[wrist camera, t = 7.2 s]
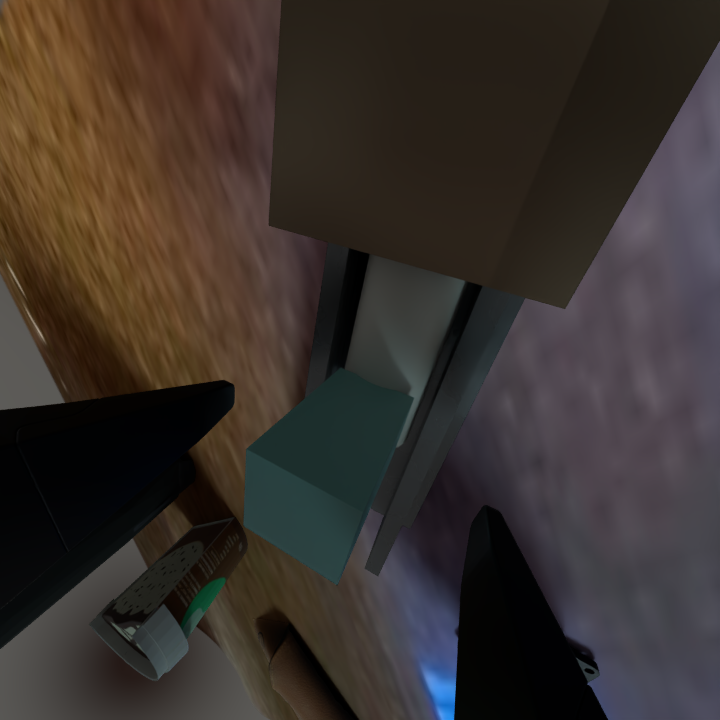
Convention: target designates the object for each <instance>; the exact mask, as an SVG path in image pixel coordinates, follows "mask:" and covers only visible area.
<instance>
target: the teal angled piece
mask: <svg viewBox="0 0 720 720" xmlns="http://www.w3.org/2000/svg"><path fill="white" fill-rule="evenodd" d="M468 284H469V282H468V281H464V280H460V279H457V278H453V277H450V276H446V275H443V274H439V273H436V272H432V271H429V270H425V269H421V268H418V267H414V266H411V265H407V264H404V263H400V262H397V261H393V260H389V259H386V258H382V257H379V256H375V255H372V254H370V255H369V259H368V264H367V268H366V273H365V278H364V282H363V287H362V291H361V296H360V300H359V305H358V310H357V314H356V319H355V323H354V328H353V332H352V337H351V341H350V346H349V351H348V355H347V360H346V364H345V369H343V368H340V369H339V370H337V371H336V372H335V373H334V374H333V375H332V376H330V377H329V378H328V379H327V380H326V381H325V382H324V383H322V384H321V385H320V386H319V387H318V388H317V389H315V390H314V391H313V392H312V393H311V394H310V395H308V396H307V397H306V398H305V399H304V400H303V401H301V402H300V403H299V404H298V405H297V406H296V407H295V408H293V409H292V410H291V411H290V412H289V413H288V414H286V415H285V416H284V417H283V418H282V419H281V420H279V421H278V422H277V423H276V424H275V425H274V426H272V427H271V428H270V429H269V430H268V431H267V432H266V433H264V434H263V435H262V436H261V437H260V438H259V439H257V440H256V441H255V442H254V443H253V444H252V445H250V446H249V447H248V448H247V449H246V473H245V500H244V526H245V527H246V528H248V529H249V530H251V531H253V532H254V533H256V534H257V535H259V536H260V537H262V538H264V539H265V540H267V541H268V542H270V543H271V544H273V545H275V546H276V547H278V548H279V549H281V550H282V551H284V552H286V553H287V554H289V555H290V556H292V557H293V558H295V559H297V560H298V561H300V562H301V563H303V564H305V565H306V566H308V567H309V568H311V569H312V570H314V571H316V572H317V573H319V574H320V575H322V576H323V577H325V578H327V579H328V580H330V581H331V582H333V583H334V584H336V585H338V583H339V580H340V578H341V576H342V573H343V571H344V569H345V566H346V564H347V562H348V559H349V557H350V555H351V552H352V550H353V548H354V545H355V543H356V541H357V538H358V536H359V534H360V531H361V529H362V527H363V524H364V522H365V520H366V517H367V515H368V513H369V510H370V508H371V506H372V503H373V501H374V499H375V496H376V494H377V492H378V489H379V487H380V485H381V482H382V480H383V477H384V475H385V473H386V470H387V468H388V466H389V463H390V461H391V459H392V456H393V454H394V451H395V448H396V447H399V446H400V445H402V444H403V443H404V442H405V441H406V440H407V438H408V436H409V434H410V431H411V429H412V426H413V423H414V421H415V418H416V416H417V413H418V411H419V408H420V406H421V403H422V401H423V398H424V396H425V393H426V390H427V388H428V385H429V383H430V380H431V378H432V375H433V373H434V370H435V368H436V365H437V362H438V360H439V357H440V355H441V352H442V350H443V347H444V345H445V342H446V340H447V337H448V334H449V332H450V329H451V327H452V324H453V322H454V319H455V317H456V314H457V312H458V309H459V306H460V304H461V301H462V299H463V296H464V294H465V291H466V289H467V286H468Z"/></svg>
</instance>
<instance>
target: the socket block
mask: <svg viewBox="0 0 720 720" xmlns="http://www.w3.org/2000/svg"><path fill="white" fill-rule="evenodd" d="M719 41H720V0H282V2H281V19H280V36H279V54H278V71H277V88H276V106H275V123H274V140H273V158H272V175H271V193H270V210H269V226H272V227H276V228H279V229H283V230H286V231H290V232H294V233H297V234H301V235H304V236H308V237H311V238H315V239H318V240H322V241H325V242H329V243H333V244H336V245H340V246H343V247H347V248H350V249H354V250H357V251H361V252H365V253H368V254H372V255H375V256H379V257H382V258H386V259H389V260H393V261H397V262H400V263H404V264H407V265H411V266H414V267H418V268H421V269H425V270H429V271H432V272H436V273H439V274H443V275H446V276H450V277H453V278H457V279H460V280H464V281H468V282H471V283H475V284H478V285H482V286H485V287H489V288H492V289H496V290H500V291H503V292H507V293H510V294H514V295H517V296H521V297H524V298H528V299H532V300H535V301H539V302H542V303H546V304H549V305H553V306H556V307H560V308H564V309H565V308H566V306H567V305H568V303H569V301H570V299H571V298H572V296H573V294H574V293H575V291H576V289H577V287H578V286H579V284H580V282H581V280H582V279H583V277H584V275H585V273H586V272H587V270H588V268H589V266H590V265H591V263H592V261H593V260H594V258H595V256H596V254H597V253H598V251H599V249H600V247H601V246H602V244H603V242H604V240H605V239H606V237H607V235H608V234H609V232H610V230H611V228H612V227H613V225H614V223H615V221H616V220H617V218H618V216H619V214H620V213H621V211H622V209H623V208H624V206H625V204H626V202H627V201H628V199H629V197H630V195H631V194H632V192H633V190H634V188H635V187H636V185H637V183H638V182H639V180H640V178H641V176H642V175H643V173H644V171H645V169H646V168H647V166H648V164H649V162H650V161H651V159H652V157H653V155H654V154H655V152H656V150H657V149H658V147H659V145H660V143H661V142H662V140H663V138H664V136H665V135H666V133H667V131H668V129H669V128H670V126H671V124H672V123H673V121H674V119H675V117H676V116H677V114H678V112H679V110H680V109H681V107H682V105H683V103H684V102H685V100H686V98H687V97H688V95H689V93H690V91H691V90H692V88H693V86H694V84H695V83H696V81H697V79H698V77H699V76H700V74H701V72H702V71H703V69H704V67H705V65H706V64H707V62H708V60H709V58H710V57H711V55H712V53H713V51H714V50H715V48H716V46H717V45H718V43H719Z"/></svg>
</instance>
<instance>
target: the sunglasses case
mask: <svg viewBox="0 0 720 720" xmlns="http://www.w3.org/2000/svg"><path fill="white" fill-rule="evenodd" d="M253 620H254V625H255V630H256V633H257V637H258V639H259V642H260V644H261V647H262V649H263V651H264V653H265V655H266V657H267V659H268V661H269V673H270V679H271V684H272V687H273V689H274V690H275V691H277V692H278V693H279V694H280V695H281V696H282V697H283V698H284V700H285V701H286V702H288V703H289V705H290V706H291V707H292V709H293V710H294V712H295V713H296V715H297V717H298V719H299V720H354V719H353V718H352V717H351V716H350V715H349V713H348V712H347V711H346V710H344V709H343V707H342V705H341V704H340V703H338V702H337V701H336V700H335V699H334V696H333V694H332V693H331V692H330V690H329V688H328V687H327V685H326V684H325V682H324V681H323V680H322V679H321V677H320V676H319V675H318V674H317V672H316V670H315V668H314V666H313V665H312V663H311V662H310V661H309V659H308V658H307V657H306V655H305V654H304V652H303V651H302V649H301V648H300V646H299V645H298V643H297V642H296V640H295V638H294V636H293V634H292V633H291V632H290V631H289V623H285V622H278V621H272V620H266V619H255V618H253Z"/></svg>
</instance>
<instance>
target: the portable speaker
mask: <svg viewBox="0 0 720 720" xmlns="http://www.w3.org/2000/svg"><path fill="white" fill-rule="evenodd" d="M194 478H195V469H194V466H193V462H192V460H185V461H182V460H181V459H180V458H178V459H177V460H176V461H175V462H174V463H173V464H171V465H170V466H169V467H168V468H167V469H165V470H164V471H163V472H162V473H161V474H160V475H158V476H157V477H156V478H155V479H154V480H152V481H151V482H150V483H149V484H148V485H147V486H145V487H144V488H143V489H142V490H141V491H139V492H138V493H137V494H136V495H135V496H134V497H132V498H131V499H130V500H129V501H128V502H127V503H125V504H124V505H123V506H122V507H121V508H119V509H118V510H117V511H116V512H115V513H114V514H112V515H111V516H110V517H109V518H108V519H106V520H105V521H104V522H103V523H102V524H101V525H99V526H98V527H97V528H96V529H95V530H93V531H92V532H91V533H90V534H89V535H88V536H86V537H85V538H84V539H83V540H82V541H80V542H79V543H78V544H77V545H76V546H75V547H73V548H72V549H71V550H70V551H67V554H65V555H64V556H63V557H62V558H61V559H59V560H58V561H57V562H56V563H55V564H54V565H52V566H51V567H50V568H49V569H48V570H46V571H45V572H44V573H43V574H42V575H41V576H39V577H38V578H37V579H36V580H35V581H34V582H32V583H31V584H30V585H29V586H28V587H26V588H25V589H24V590H23V591H22V592H21V593H19V594H18V595H17V596H16V597H15V598H13V599H12V600H11V601H10V602H9V603H8V604H6V605H5V606H4V607H3V608H2V609H0V649H1V648H2V647H3V646H4V645H6V644H7V643H8V642H9V641H11V640H12V639H13V638H14V637H15V636H17V635H18V634H19V633H20V632H21V631H23V629H24V628H26V627H27V626H28V625H30V624H31V623H32V622H33V621H34V620H36V619H37V618H38V617H39V616H40V615H42V614H43V613H44V612H45V611H46V610H47V609H49V608H50V607H51V606H52V605H54V604H55V603H56V602H57V601H58V600H59V599H61V598H62V597H63V596H64V595H65V594H67V593H68V592H69V591H70V590H71V589H72V588H74V587H75V586H76V585H77V584H78V583H80V582H81V581H82V580H83V579H84V578H85V577H87V576H88V575H89V574H90V573H91V572H93V571H94V570H95V569H96V568H98V567H99V566H100V565H101V564H102V563H104V562H105V561H106V560H107V559H108V558H110V557H111V556H112V555H113V554H114V553H115V552H117V551H118V550H119V549H120V548H121V547H123V546H124V545H125V544H126V543H127V542H129V541H130V540H131V539H132V538H133V537H134V536H135V535H136V534H137V533H139V532H140V531H141V530H142V529H143V528H144V527H145V526H146V525H147V524H149V523H150V522H151V521H152V520H153V519H154V518H155V517H156V516H157V515H158V514H160V513H161V512H162V511H163V510H164V509H165V508H166V507H167V506H168V505H169V504H171V503H172V502H173V501H174V500H175V499H176V498H177V497H178V495H179V494H180V493H181V492H182V491H183V490H184V489H186V488H187V487H188V486H189V485H190V484H191V483H193V482H194Z"/></svg>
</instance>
